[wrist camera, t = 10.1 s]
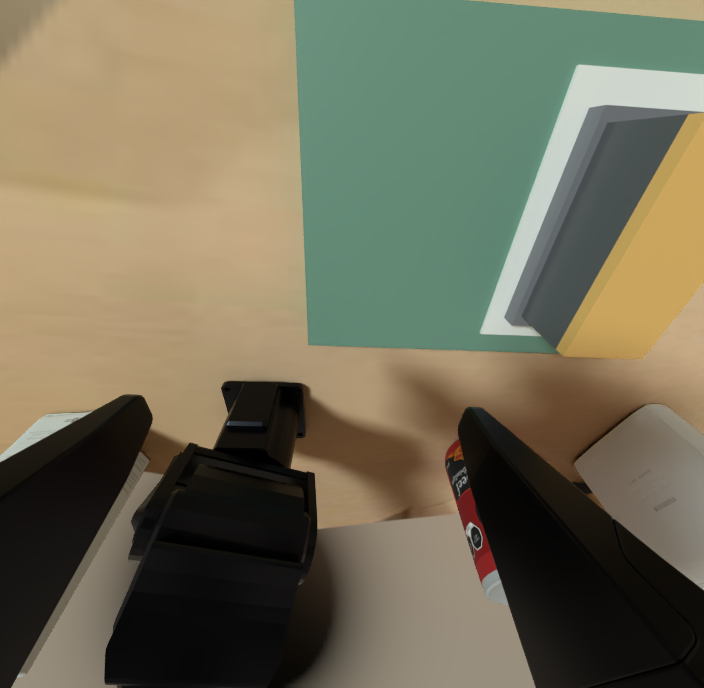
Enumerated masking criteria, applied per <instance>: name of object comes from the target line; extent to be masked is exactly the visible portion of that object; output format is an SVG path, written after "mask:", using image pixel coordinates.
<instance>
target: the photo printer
mask: <svg viewBox="0 0 704 688" xmlns="http://www.w3.org/2000/svg"><path fill="white" fill-rule="evenodd" d="M574 466H575V468H576V470H577V471H578V473H579V474H580V476H581V477H582V478H583V480H584V481H585V483H586V484H587V485H588V487H589V488H590V489H591V491H592V492H593V494H594V495H595V496H596V498H597V499H598V500H599V502H600V503H601V505H602V506H603V507H604V509H605V510H606V511H607V513H608V514H609V515H611V517H612V519H616V520H617V521H618V522H619V523H620V524H622V525H623V526H624V527H625V528H626V529H628V530H629V531H630V532H631V533H632V534H634V535H635V536H636V537H637V538H638V539H640V540H641V541H642V542H643V543H645V544H646V545H647V546H648V547H649V548H651V549H652V550H653V551H654V552H656V553H657V554H658V555H659V556H661V557H662V558H663V559H664V560H666V561H667V562H668V563H669V564H671V565H672V566H673V567H675V568H676V569H677V570H678V571H680V572H681V573H682V574H684V575H685V576H686V577H687V578H689V579H690V580H691V581H693V582H694V583H695V584H696V585H698V586H699V587H700V588H702V589H703V590H704V434H702V433H701V432H700V431H699V430H697V429H696V428H695V427H693V426H692V425H691V424H690V423H688V422H687V421H686V420H684V419H683V418H682V417H680V416H679V415H678V414H677V413H675V412H674V411H673V410H671V409H670V408H669V407H667V406H665V405H662V404H649V405H645V406H644V407H642V408H640V409H639V410H637V411H636V412H634V413H633V414H632V415H630V416H629V417H628V418H626V419H625V420H624V421H623V422H621V423H620V424H619V425H618V426H616V427H615V428H614V429H613V430H611V431H610V432H609V433H608V434H606V435H605V436H604V437H603V438H602V439H600V440H599V441H598V442H597V443H596V444H594V445H593V446H592V447H591V448H590V449H589V450H587V451H586V452H585V453H584V454H583V455H582V456H581V457H579V458H578V459H577V460H576V462H575V463H574Z"/></svg>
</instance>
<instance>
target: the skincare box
mask: <svg viewBox="0 0 704 688" xmlns="http://www.w3.org/2000/svg"><path fill="white" fill-rule="evenodd" d="M92 412H93V411H92ZM89 413H91V412H83V413H62V414H49V415H46V416H44V417H42V418H40V419H39V420H38V421H36V422H35V423H34V424H33V425H32V426H31V427H30V428H29V429H28V430H27V431H26V432H25V433H24V434H23V435H22V436H21V437H20V438H19V439H18V440H17V441H15V442H14V443H13V444H12V445H11V446H10V447H9V448H8V449H7V450H6V451H5V452H4V453H3V454H2V455H1V456H0V462H1V461H3V460H5V459H7V458H8V457H10V456H12V455H14V454H16V453H18V452H19V451H21V450H23V449H25V448H27V447H29V446H30V445H32V444H34V443H36V442H38V441H40V440H41V439H43V438H45V437H47V436H49V435H51V434H52V433H54V432H56V431H58V430H60V429H62V428H63V427H65V426H67V425H69V424H71V423H73V422H74V421H76V420H78V419H80V418H82V417H84V416H85V415H87V414H89ZM149 462H150V461H149V460H148V458H147V457H146V456H145V455H144V454H143V453H142V452H141V451H140V452H139V454H138V457H137V459H136V461H135V464H134V466H133V468H132V470H131V473H130V475H129V477H128V479H127V481H126V483H125V484H124V486H123V488H122V490H121V492H120V494H119V495H118V497H117V499H116V501H115V502H114V504H113V506H112V508H111V510H110V511H109V513H108V515H107V517H106V519H105V520H104V522H103V524H102V526H101V528H100V529H99V531H98V533H97V535H96V537H95V538H94V540H93V542H92V544H91V545H90V547H89V549H88V551H87V553H86V554H85V556H84V558H83V560H82V562H81V563H80V565H79V567H78V569H77V571H76V572H75V574H74V576H73V578H72V579H71V581H70V583H69V585H68V587H67V588H66V590H65V592H64V594H63V596H62V597H61V599H60V601H59V603H58V605H57V606H56V608H55V610H54V612H53V613H52V615H51V617H50V619H49V621H48V622H47V624H46V626H45V628H44V630H43V631H42V633H41V635H40V637H39V639H38V640H37V642H36V644H35V646H34V648H33V649H32V651H31V653H30V655H29V656H28V658H27V660H26V662H25V664H24V665H23V667H22V669H21V671H20V673H19V674H18V676H17V677H22V676H24V675H26V674H27V673H28V671H29V670H30V668H31V666H32V665H33V663H34V661H35V659H36V658H37V656H38V654H39V652H40V651H41V649H42V647H43V645H44V644H45V642H46V640H47V639H48V637H49V635H50V633H51V632H52V630H53V628H54V626H55V625H56V623H57V621H58V619H59V617H60V615H61V614H62V612H63V611H64V609H65V607H66V605H67V604H68V602H69V600H70V598H71V597H72V595H73V593H74V591H75V590H76V588H77V586H78V584H79V583H80V581H81V579H82V578H83V576H84V574H85V572H86V571H87V569H88V567H89V566H90V564H91V562H92V560H93V559H94V557H95V555H96V553H97V552H98V550H99V548H100V546H101V545H102V543H103V541H104V539H105V538H106V536H107V534H108V533H109V531H110V529H111V527H112V526H113V524H114V522H115V520H116V518H117V517H118V515H119V514H120V511H121V510H122V508H123V507H124V505H125V503H126V501H127V500H128V498H129V496H130V494H131V492H132V491H133V489H134V487H135V486H136V484H137V482H138V480H139V479H140V477H141V475H142V474H143V472H144V470H145V468H146V467H147V465H148V463H149Z"/></svg>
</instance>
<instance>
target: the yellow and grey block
mask: <svg viewBox="0 0 704 688" xmlns="http://www.w3.org/2000/svg"><path fill="white" fill-rule="evenodd" d="M703 282H704V113H695V114H686V115H676V116H666V117H657V118H647V119H638V120H628V121H618V122H609V123H607V125H606V127H605V129H604V131H603V134H602V136H601V138H600V140H599V143H598V145H597V147H596V149H595V152H594V154H593V156H592V158H591V161H590V163H589V165H588V167H587V170H586V172H585V174H584V176H583V179H582V181H581V183H580V185H579V188H578V190H577V192H576V194H575V197H574V199H573V201H572V203H571V206H570V208H569V210H568V212H567V215H566V217H565V219H564V221H563V224H562V226H561V228H560V230H559V233H558V235H557V237H556V239H555V242H554V244H553V246H552V248H551V251H550V253H549V255H548V257H547V260H546V262H545V264H544V266H543V269H542V271H541V273H540V275H539V278H538V280H537V282H536V284H535V287H534V289H533V291H532V293H531V296H530V298H529V300H528V302H527V305H526V307H525V309H524V311H523V314H522V316H521V317H522V318H523V319H524V320H525V321H526V322H527V323H528V324H530V325H531V326H532V327H533V328H534V329H535V330H536V331H537V332H538V333H539V334H540V335H541V336H542V337H543V338H544V339H545V340H546V341H547V342H548V343H549V344H550V345H552V346H553V347H554V348H555V349H556V350H557V351H558V352H559V353H560V354H561V355H562V356H563V357H587V358H616V359H643V358H644V356H645V355H646V354H647V353H648V351H649V350H650V349H651V348H652V346H653V345H654V344H655V343H656V341H657V340H658V339H659V338H660V336H661V335H662V334H663V333H664V331H665V330H666V329H667V328H668V326H669V325H670V324H671V323H672V321H673V320H674V319H675V317H676V316H677V315H678V314H679V312H680V311H681V310H682V309H683V307H684V306H685V305H686V304H687V302H688V301H689V300H690V299H691V297H692V296H693V295H694V294H695V292H696V291H697V290H698V289H699V287H700V286H701V285H702V284H703Z"/></svg>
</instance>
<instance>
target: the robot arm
mask: <svg viewBox="0 0 704 688" xmlns="http://www.w3.org/2000/svg"><path fill="white" fill-rule="evenodd" d="M228 387H229V388H228ZM295 389H298V390H295ZM221 390H222V393H223V397H224V400H225V404H226V407H227V411H228V416H227V419H226V421H225V423H224V425H223V428H222V430H221V432H220V434H219V437H218V439H217V441H216V443H215V445H214V448H213V450H212V449H208V448H204V447H200V446H198V444H194V443H189V444H188V446H187V447H186V449H185V451H184V452H183V453H182V452H180V454H179V455H177V456H174V458H173V460H172V462H171V463H170V465H169V467H168V469H167V471H166V472H165V474H164V476H163V477H162V479H161V481H160V482H159V483H158V484H157V486H156V487H155V488H154V489H153V491H152V492H151V493H150V494H149V495H148V497H147V498H146V499H145V500H144V502H143V503H142V504H141V505H140V506H139V508H138V509H137V510H136V512H135V514H134V515H133V518H132V520H131V523H132V526H133V529H134V532H135V534H134V537H133V540H132V543H133V545H132V547H131V550H130V553H129V557H128V561H129V562H136V563H140V564H139V566H138V569H137V571H136V573H135V576H134V578H133V580H132V582H131V585H130V587H129V590H128V592H127V594H126V596H125V599H124V601H123V604H122V606H121V608H120V610H119V613H118V615H117V617H116V620H115V623H114V626H113V634H112V636H111V639H110V641H109V643H108V645H107V648H106V655H105V677H104V678H105V684H106V685H117V688H266V687H267V686H268V684H269V682H270V680H271V678H272V677H273V675H274V673H275V671H276V670H277V668H278V666H279V664H280V662H281V660H282V656H283V651H284V646H285V640H286V635H287V630H288V624H289V620H290V614H291V610H292V606H293V602H294V598H295V594H296V590H297V587H298V585H300V584H302V583H303V581H304V580H305V578H306V576H307V574H308V571H309V569H310V566H311V562H312V559H313V555H314V550H315V545H316V538H317V508H316V489H315V473H312V472H308V471H307V472H302V471H298V470H294V469H290V468H291V463H292V457H293V451H294V445H295V440H296V438H303V437H305V434H306V424H305V408H304V391H303V386H302V385H301V384H298V383H268V382H233V381H227V382H224V384H223V385H222V387H221ZM152 420H153V417H152V413H151V411H150V409H149V407H148V405H147V403H146V401H145V398H144V397H143V396H141V395H131V394H126V395H122V396H120V397H118V398H117V399H115V400H113V401H111V402H109V403H107V404H106V405H104V406H102V407H100V408H98V409H96V410H95V411H93V412H91V413H89V414H87V415H85V416H84V417H82V418H80V419H78V420H76V421H74V422H73V423H71V424H69V425H67V426H65V427H63V428H62V429H60V430H58V431H56V432H54V433H52V434H51V435H49V436H47V437H45V438H43V439H41V440H40V441H38V442H36V443H34V444H32V445H30V446H29V447H27V448H25V449H23V450H21V451H19V452H18V453H16V454H14V455H12V456H10V457H8V458H7V459H5V460H3V461H1V462H0V688H11V687H12V685H13V683H14V682H15V680H16V678H17V676H18V674H19V673H20V671H21V669H22V667H23V665H24V664H25V662H26V660H27V658H28V656H29V655H30V653H31V651H32V649H33V648H34V646H35V644H36V642H37V640H38V639H39V637H40V635H41V633H42V631H43V630H44V628H45V626H46V624H47V622H48V621H49V619H50V617H51V615H52V613H53V612H54V610H55V608H56V606H57V605H58V603H59V601H60V599H61V597H62V596H63V594H64V592H65V590H66V588H67V587H68V585H69V583H70V581H71V579H72V578H73V576H74V574H75V572H76V571H77V569H78V567H79V565H80V563H81V562H82V560H83V558H84V556H85V554H86V553H87V551H88V549H89V547H90V545H91V544H92V542H93V540H94V538H95V537H96V535H97V533H98V531H99V529H100V528H101V526H102V524H103V522H104V520H105V519H106V517H107V515H108V513H109V511H110V510H111V508H112V506H113V504H114V502H115V501H116V499H117V497H118V495H119V494H120V492H121V490H122V488H123V486H124V484H125V483H126V481H127V479H128V477H129V475H130V473H131V470H132V468H133V466H134V464H135V461H136V459H137V457H138V454H139V452H140V450H141V448H142V445H143V443H144V441H145V438H146V436H147V434H148V431H149V429H150V427H151V424H152ZM458 436H459V441H460V445H461V450H462V454H463V459H464V464H465V468H466V473H467V477H468V481H469V485H470V489H471V492H472V495H473V498H474V501H475V504H476V507H477V510H478V513H479V516H480V519H481V523H482V526H483V529H484V532H485V535H486V538H487V541H488V544H489V547H490V550H491V553H492V556H493V559H494V562H495V565H496V568H497V571H498V574H499V577H500V580H501V583H502V586H503V589H504V592H505V595H506V598H507V602H508V605H509V607H510V610H511V613H512V617H513V619H514V622H515V626H516V629H517V632H518V635H519V638H520V641H521V644H522V647H523V650H524V653H525V656H526V659H527V662H528V665H529V668H530V671H531V674H532V677H533V680H534V684H535V686H536V688H704V590H703V589H702V588H700V587H699V586H698V585H696V584H695V583H694V582H693V581H691V580H690V579H689V578H687V577H686V576H685V575H684V574H682V573H681V572H680V571H678V570H677V569H676V568H675V567H673V566H672V565H671V564H669V563H668V562H667V561H666V560H664V559H663V558H662V557H661V556H659V555H658V554H657V553H656V552H654V551H653V550H652V549H651V548H649V547H648V546H647V545H646V544H645V543H643V542H642V541H641V540H640V539H638V538H637V537H636V536H635V535H634V534H632V533H631V532H630V531H629V530H628V529H626V528H625V527H624V526H623V525H622V524H620V523H619V522H618V521H617V520H616V519H612V517H611V515H609V514H608V513H607V512H606V511H605V510H604V509H602V508H601V507H600V506H599V505H598V504H596V503H595V502H594V501H593V500H592V499H590V498H589V497H588V496H587V495H586V494H584V493H583V492H582V491H581V490H580V489H578V488H577V487H576V486H575V485H574V484H572V483H571V482H570V481H569V480H568V479H566V478H565V477H564V476H563V475H562V474H560V473H559V472H558V471H557V470H556V469H555V468H553V467H552V466H551V465H550V464H549V463H547V462H546V461H545V460H544V459H543V458H541V457H540V456H539V455H538V454H537V453H535V452H534V451H533V450H532V449H531V448H529V447H528V446H527V445H526V444H525V443H523V442H522V441H521V440H520V439H519V438H517V437H516V436H515V435H514V434H513V433H512V432H510V431H509V430H508V429H507V428H506V427H504V426H503V425H502V424H501V423H500V422H498V421H497V420H496V419H495V418H494V417H492V416H491V415H490V414H489V413H488V412H486V411H485V410H484V409H483V408H480V407H467V408H466V409H465V411H464V413H463V415H462V418H461V420H460V422H459V425H458Z"/></svg>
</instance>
